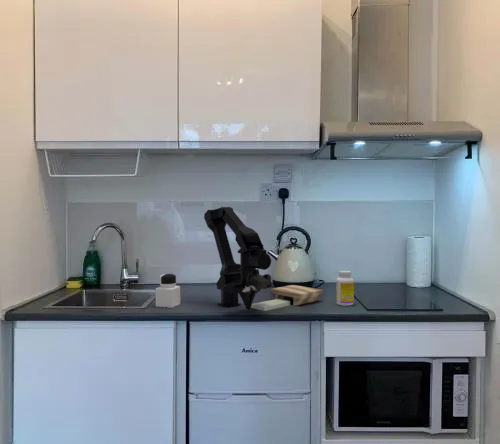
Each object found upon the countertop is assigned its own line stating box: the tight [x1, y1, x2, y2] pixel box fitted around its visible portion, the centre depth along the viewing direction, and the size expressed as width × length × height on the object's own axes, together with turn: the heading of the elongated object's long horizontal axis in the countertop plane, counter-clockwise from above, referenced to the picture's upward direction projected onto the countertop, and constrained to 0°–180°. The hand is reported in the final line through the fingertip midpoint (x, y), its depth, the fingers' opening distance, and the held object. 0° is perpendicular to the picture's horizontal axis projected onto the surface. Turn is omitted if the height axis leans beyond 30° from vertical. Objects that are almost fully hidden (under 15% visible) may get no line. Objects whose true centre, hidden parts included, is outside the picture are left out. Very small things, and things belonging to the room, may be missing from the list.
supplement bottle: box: [335, 270, 355, 307], centre depth 187 cm, size 7×7×13 cm
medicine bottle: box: [155, 273, 181, 309], centre depth 185 cm, size 7×7×12 cm
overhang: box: [270, 284, 324, 306], centre depth 193 cm, size 14×16×5 cm
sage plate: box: [250, 298, 291, 312], centre depth 183 cm, size 14×7×2 cm, turn 133°
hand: (248, 309), depth 175 cm, fingers closed
